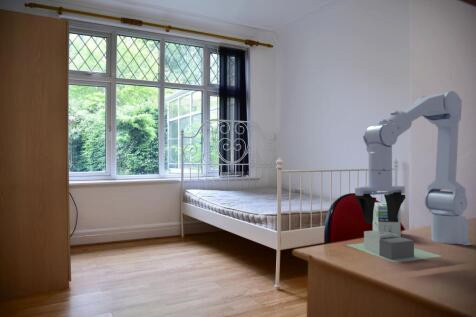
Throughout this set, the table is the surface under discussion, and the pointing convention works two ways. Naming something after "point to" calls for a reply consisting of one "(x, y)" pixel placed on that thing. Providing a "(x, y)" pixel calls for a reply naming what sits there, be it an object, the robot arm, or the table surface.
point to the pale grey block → (376, 239)
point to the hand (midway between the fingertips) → (380, 222)
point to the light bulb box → (385, 219)
